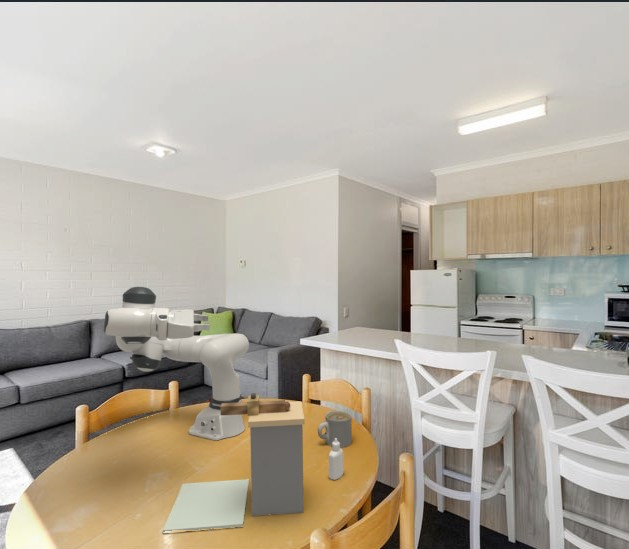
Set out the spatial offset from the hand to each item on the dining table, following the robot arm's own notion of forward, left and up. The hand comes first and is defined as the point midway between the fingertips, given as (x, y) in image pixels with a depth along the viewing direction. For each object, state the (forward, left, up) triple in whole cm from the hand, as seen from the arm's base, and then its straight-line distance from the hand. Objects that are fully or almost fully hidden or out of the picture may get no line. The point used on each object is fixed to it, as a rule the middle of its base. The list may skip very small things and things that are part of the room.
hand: (208, 322), depth 118 cm
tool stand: (+26, -8, -50) cm, 56 cm away
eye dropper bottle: (+40, +8, -50) cm, 64 cm away
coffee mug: (+35, +30, -50) cm, 68 cm away
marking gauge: (+20, -10, -24) cm, 32 cm away
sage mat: (+8, -14, -50) cm, 52 cm away
